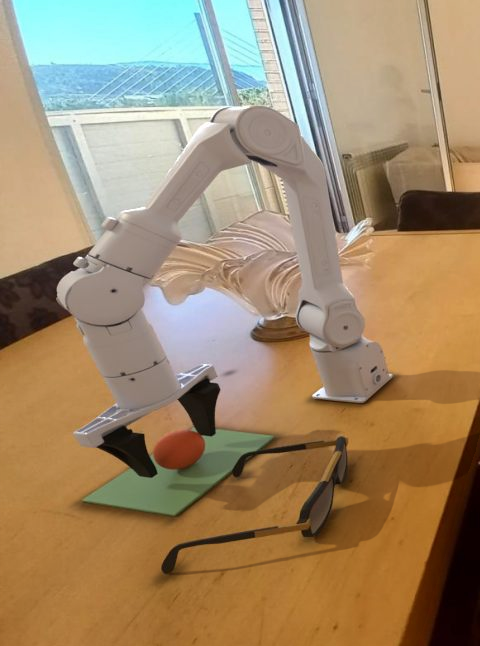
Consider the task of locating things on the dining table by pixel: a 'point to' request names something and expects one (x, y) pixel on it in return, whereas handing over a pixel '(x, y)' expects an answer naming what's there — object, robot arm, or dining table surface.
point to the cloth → (179, 477)
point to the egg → (179, 449)
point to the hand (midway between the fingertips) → (179, 453)
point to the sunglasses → (312, 510)
